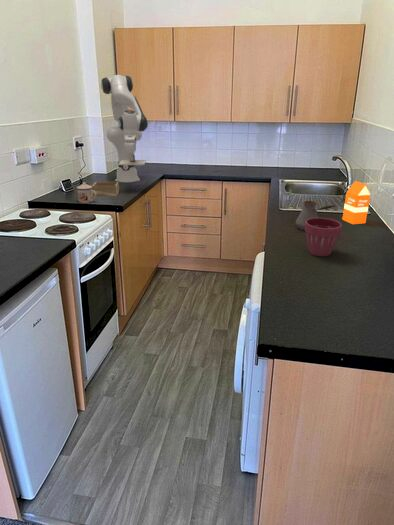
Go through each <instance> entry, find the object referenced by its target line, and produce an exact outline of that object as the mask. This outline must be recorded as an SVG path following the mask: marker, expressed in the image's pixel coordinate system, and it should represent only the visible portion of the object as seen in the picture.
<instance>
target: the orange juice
mask: <svg viewBox="0 0 394 525" xmlns="http://www.w3.org/2000/svg"><path fill="white" fill-rule="evenodd" d="M370 200H371V192H370V191H369V188H368V186H367V183H362V182H360V181H357V180H354V182H353V183H352V184H351V186H350V187H349V188H348V189H347V191H346V194H345V200H344V206H343V214H342V217H341V218H342V220H343V221H344V222H346V223H349V224H351V225H359V224H366V222H367V218H368V217H367V216H368V212H369V204H370Z"/></svg>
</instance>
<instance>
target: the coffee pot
mask: <svg viewBox="0 0 394 525" xmlns="http://www.w3.org/2000/svg"><path fill="white" fill-rule="evenodd" d="M302 204H303V207H302V210H301V211H300V213H299V214H298V216H297V218H296V220H295V225H296V226H297V228H298V229H299V230H302V231H305V222H306V220H308V219H310V218H319V216H318V213H317V211H321V210H327V209H332V210H334V208H337V206H335V205H334V204H333V205H328V206H327V205H326V206H323V207H318V208H316V206H317V204H318V202H316V201H312V200H305V201H303V202H302Z"/></svg>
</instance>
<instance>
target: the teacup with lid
mask: <svg viewBox="0 0 394 525" xmlns="http://www.w3.org/2000/svg"><path fill="white" fill-rule="evenodd" d="M76 190H77V191H76V192H77V199H78V202H79V203H87V204H92V203H93V202H94V199H96V198H97V196H96V192H95V191H93V190H92V185H89V184H87V183H86V182H82V184H80V185H79V186H76ZM92 192H94V194H95V196H93V193H92Z"/></svg>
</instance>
